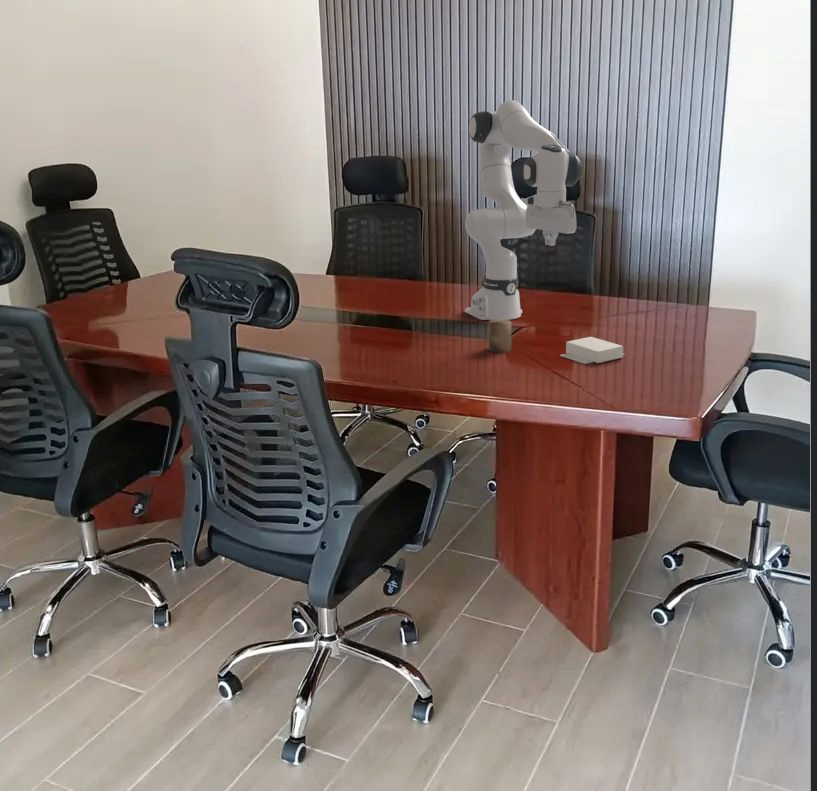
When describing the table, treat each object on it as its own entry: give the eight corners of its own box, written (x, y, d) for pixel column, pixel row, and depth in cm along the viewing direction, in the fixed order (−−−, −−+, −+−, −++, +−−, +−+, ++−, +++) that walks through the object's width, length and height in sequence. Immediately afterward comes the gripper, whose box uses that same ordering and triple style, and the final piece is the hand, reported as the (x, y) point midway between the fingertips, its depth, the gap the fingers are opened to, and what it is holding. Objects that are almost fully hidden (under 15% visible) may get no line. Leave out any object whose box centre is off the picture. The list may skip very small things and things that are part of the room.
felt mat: (560, 355, 268) (560, 354, 268) (599, 347, 276) (599, 346, 276) (584, 364, 260) (584, 363, 259) (624, 354, 267) (624, 354, 267)
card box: (566, 341, 269) (598, 351, 258) (590, 336, 274) (623, 346, 263) (566, 352, 270) (597, 363, 259) (590, 347, 275) (622, 357, 264)
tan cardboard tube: (484, 349, 278) (484, 321, 276) (501, 345, 282) (502, 318, 279) (497, 353, 273) (497, 325, 270) (515, 350, 276) (515, 322, 273)
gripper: (582, 201, 263) (580, 248, 268) (538, 196, 280) (537, 240, 284) (566, 203, 260) (564, 250, 265) (522, 198, 277) (521, 242, 281)
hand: (550, 245), depth 275 cm, fingers closed
